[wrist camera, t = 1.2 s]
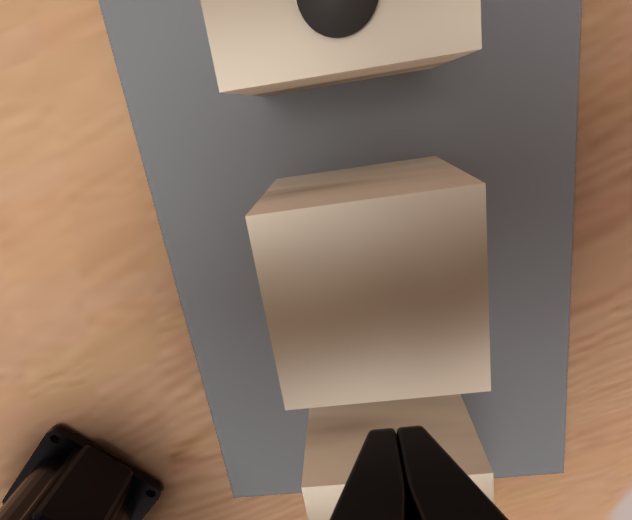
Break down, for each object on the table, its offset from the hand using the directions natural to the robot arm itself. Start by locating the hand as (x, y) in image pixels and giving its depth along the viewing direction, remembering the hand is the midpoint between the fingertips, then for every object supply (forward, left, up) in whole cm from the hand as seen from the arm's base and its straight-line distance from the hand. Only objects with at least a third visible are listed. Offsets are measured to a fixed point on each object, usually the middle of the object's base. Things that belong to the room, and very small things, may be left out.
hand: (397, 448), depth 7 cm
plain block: (0, 0, -11) cm, 11 cm away
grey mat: (0, 0, -12) cm, 12 cm away
